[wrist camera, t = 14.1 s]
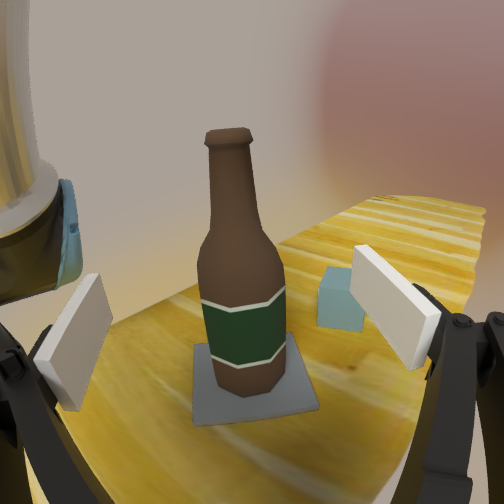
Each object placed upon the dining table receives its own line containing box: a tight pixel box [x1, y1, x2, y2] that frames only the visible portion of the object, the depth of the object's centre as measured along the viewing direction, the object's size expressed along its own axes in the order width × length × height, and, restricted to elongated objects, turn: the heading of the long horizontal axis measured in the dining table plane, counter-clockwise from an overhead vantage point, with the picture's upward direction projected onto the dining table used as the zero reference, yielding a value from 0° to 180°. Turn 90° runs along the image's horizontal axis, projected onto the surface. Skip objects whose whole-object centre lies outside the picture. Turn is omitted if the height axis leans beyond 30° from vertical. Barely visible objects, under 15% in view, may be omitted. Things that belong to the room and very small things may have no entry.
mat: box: [193, 332, 319, 426], centre depth 31 cm, size 12×12×1 cm
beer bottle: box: [197, 127, 286, 398], centre depth 27 cm, size 8×8×24 cm
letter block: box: [317, 266, 365, 332], centre depth 40 cm, size 6×6×6 cm
